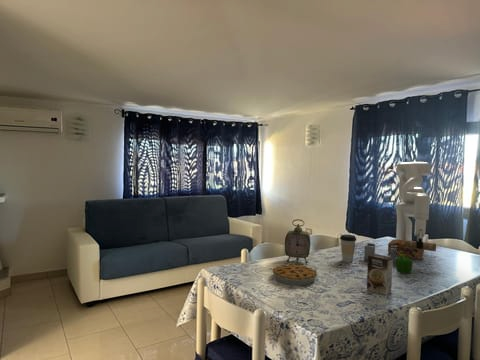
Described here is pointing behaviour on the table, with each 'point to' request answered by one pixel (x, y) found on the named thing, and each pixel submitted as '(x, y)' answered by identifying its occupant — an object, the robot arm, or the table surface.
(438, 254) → the table surface
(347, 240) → the coffee cup
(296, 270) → the pie
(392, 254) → the saddle bracket
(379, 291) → the coffee box
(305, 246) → the tabletop clock
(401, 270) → the bell pepper
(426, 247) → the brown cylinder
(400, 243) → the bread
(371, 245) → the box
